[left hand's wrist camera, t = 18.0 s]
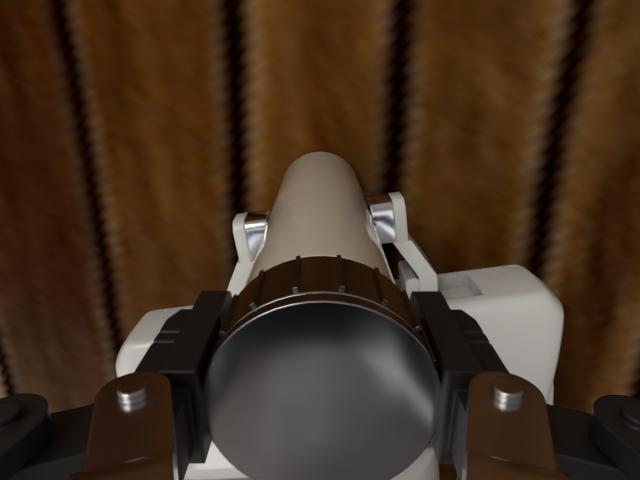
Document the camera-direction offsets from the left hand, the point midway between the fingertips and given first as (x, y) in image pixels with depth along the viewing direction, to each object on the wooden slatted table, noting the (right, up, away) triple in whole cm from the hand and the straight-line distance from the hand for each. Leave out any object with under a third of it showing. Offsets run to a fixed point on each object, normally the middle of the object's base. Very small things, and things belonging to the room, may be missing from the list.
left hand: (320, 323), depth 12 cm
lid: (0, -1, -3) cm, 3 cm away
